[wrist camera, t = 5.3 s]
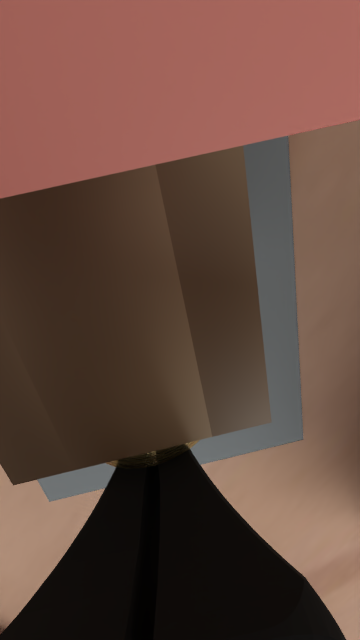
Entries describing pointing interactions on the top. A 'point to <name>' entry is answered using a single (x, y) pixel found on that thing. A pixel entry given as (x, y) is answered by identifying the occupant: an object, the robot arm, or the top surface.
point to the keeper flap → (165, 81)
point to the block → (128, 316)
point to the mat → (276, 318)
